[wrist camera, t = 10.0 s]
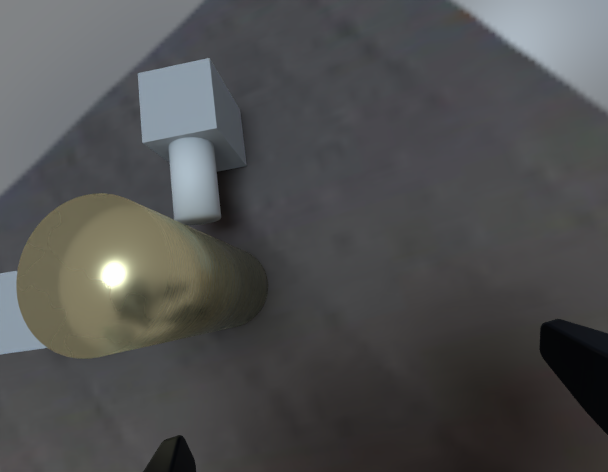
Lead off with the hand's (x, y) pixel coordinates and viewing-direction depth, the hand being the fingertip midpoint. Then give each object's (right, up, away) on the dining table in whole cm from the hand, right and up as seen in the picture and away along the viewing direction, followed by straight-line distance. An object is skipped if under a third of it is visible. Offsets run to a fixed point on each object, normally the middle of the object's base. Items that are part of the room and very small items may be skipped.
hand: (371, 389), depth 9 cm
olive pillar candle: (-6, 0, +14) cm, 15 cm away
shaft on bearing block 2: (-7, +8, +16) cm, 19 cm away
